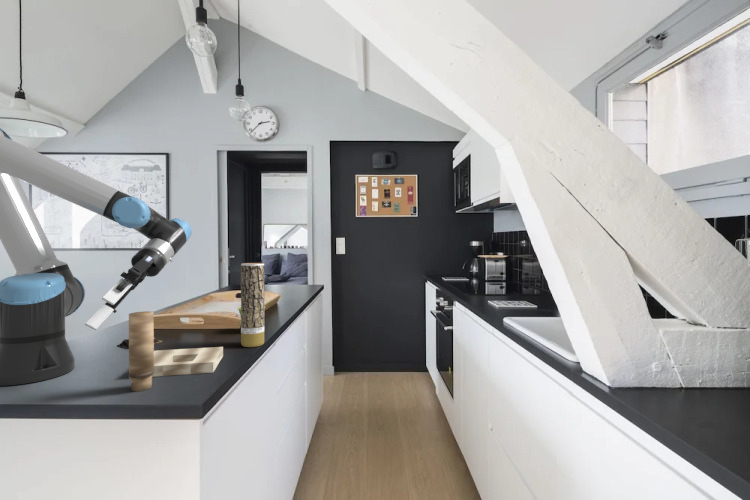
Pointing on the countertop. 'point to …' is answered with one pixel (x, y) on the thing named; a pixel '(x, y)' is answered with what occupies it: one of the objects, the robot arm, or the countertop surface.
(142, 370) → the peg
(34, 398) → the countertop surface
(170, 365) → the board
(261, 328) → the paper tube
